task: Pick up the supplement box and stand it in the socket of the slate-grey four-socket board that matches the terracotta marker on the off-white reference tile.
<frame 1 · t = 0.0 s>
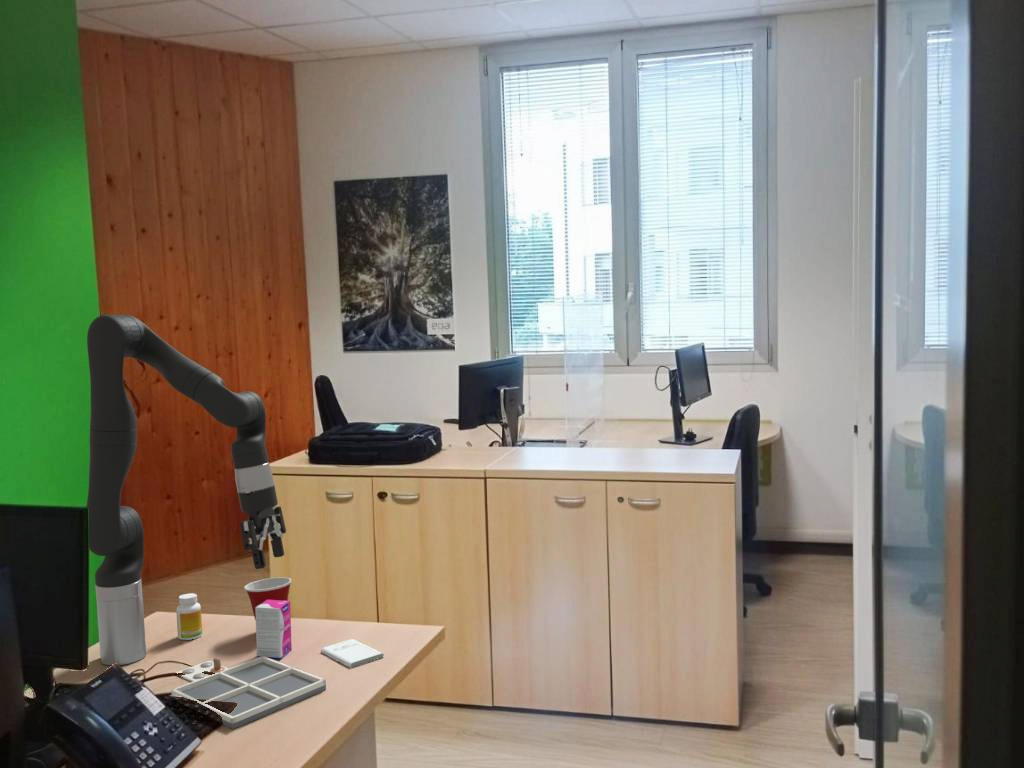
hand: (270, 562, 190), 22 cm above the table, tool pointing down, fingers open, 8 cm apart
reference tile: (203, 672, 189), on the table
supplement bottle: (190, 637, 211), on the table
supplement box: (275, 655, 198), on the table
external hard drive: (352, 658, 197), on the table
plastic cup: (270, 632, 213), on the table
socket board: (249, 694, 178), on the table
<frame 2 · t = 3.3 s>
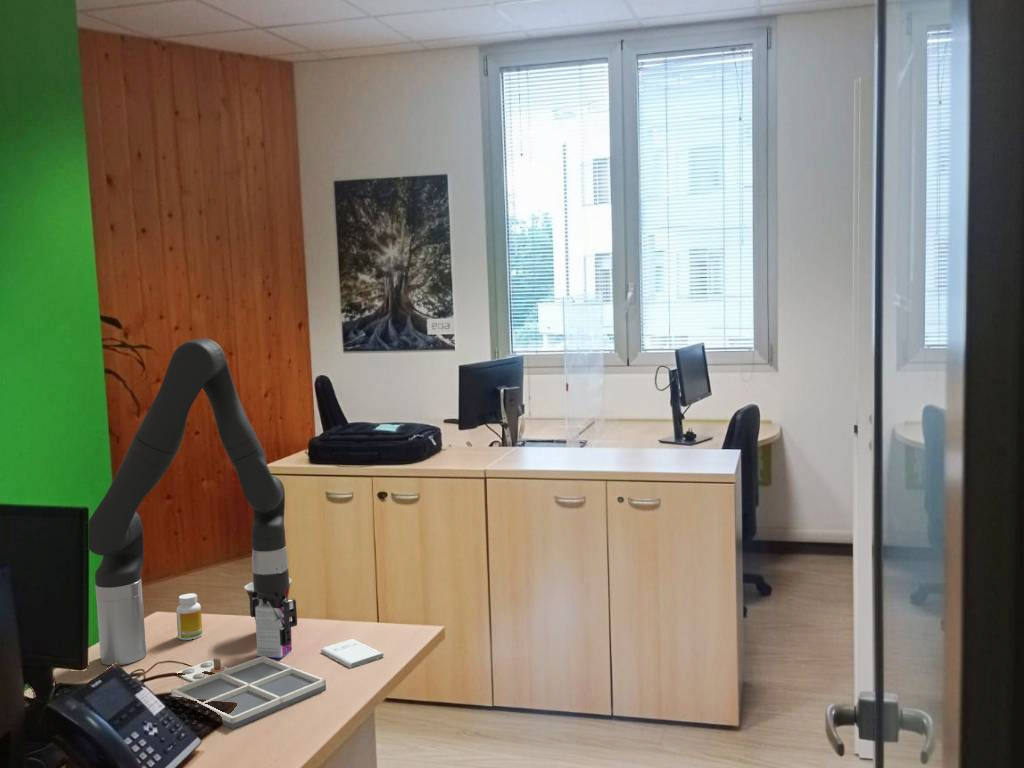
hand: (274, 641, 198), 3 cm above the table, tool pointing down, fingers closed on supplement box, 7 cm apart
supplement box: (275, 655, 198), on the table, touching gripper
everything else where it was.
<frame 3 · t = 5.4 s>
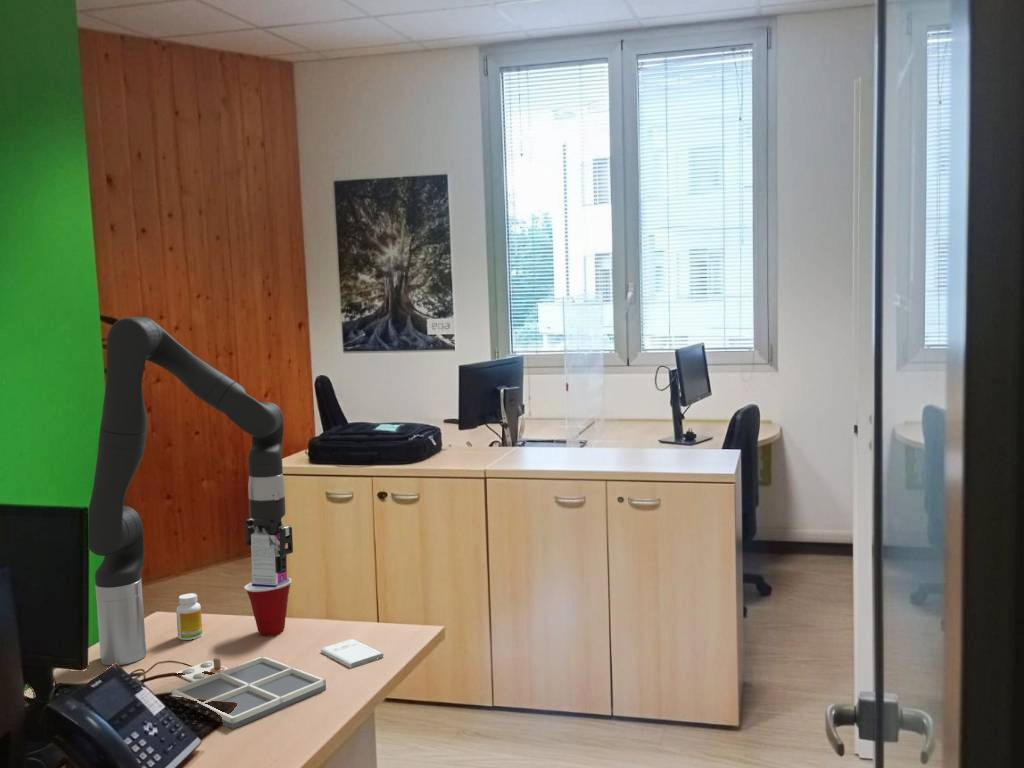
hand: (269, 569, 197), 19 cm above the table, tool pointing down, fingers closed on supplement box, 7 cm apart
supplement box: (270, 584, 197), point 16 cm above the table, touching gripper
everything else where it was.
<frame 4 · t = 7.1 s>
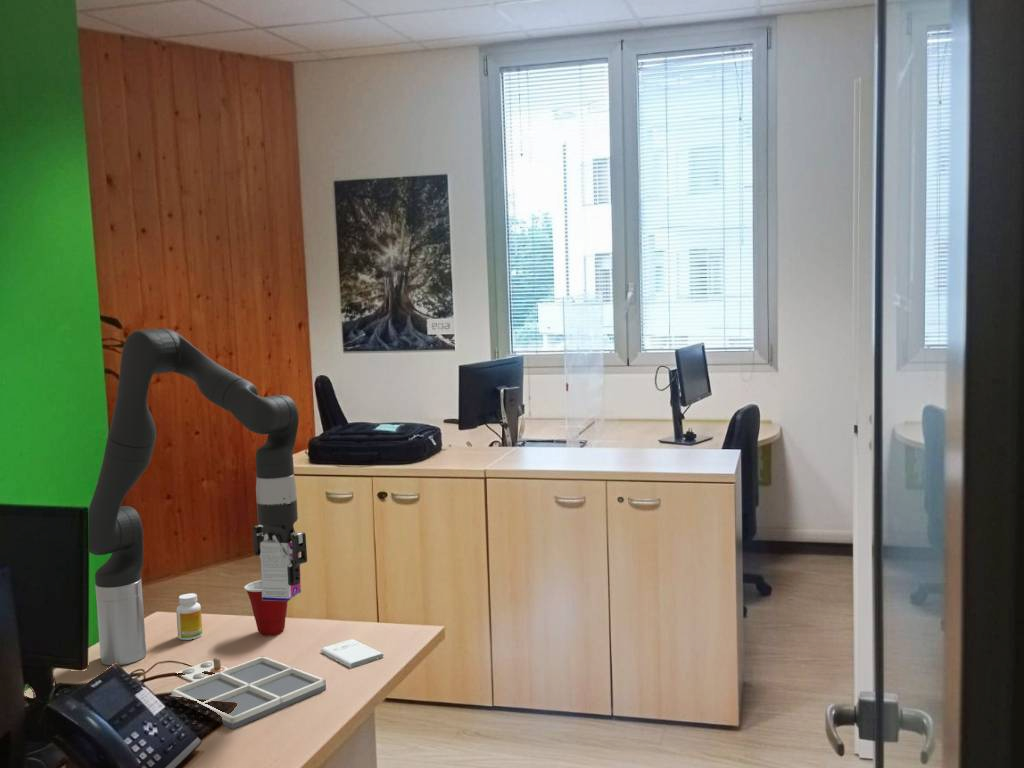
hand: (281, 581, 177), 22 cm above the table, tool pointing down, fingers closed on supplement box, 7 cm apart
supplement box: (282, 597, 177), point 19 cm above the table, touching gripper
everything else where it was.
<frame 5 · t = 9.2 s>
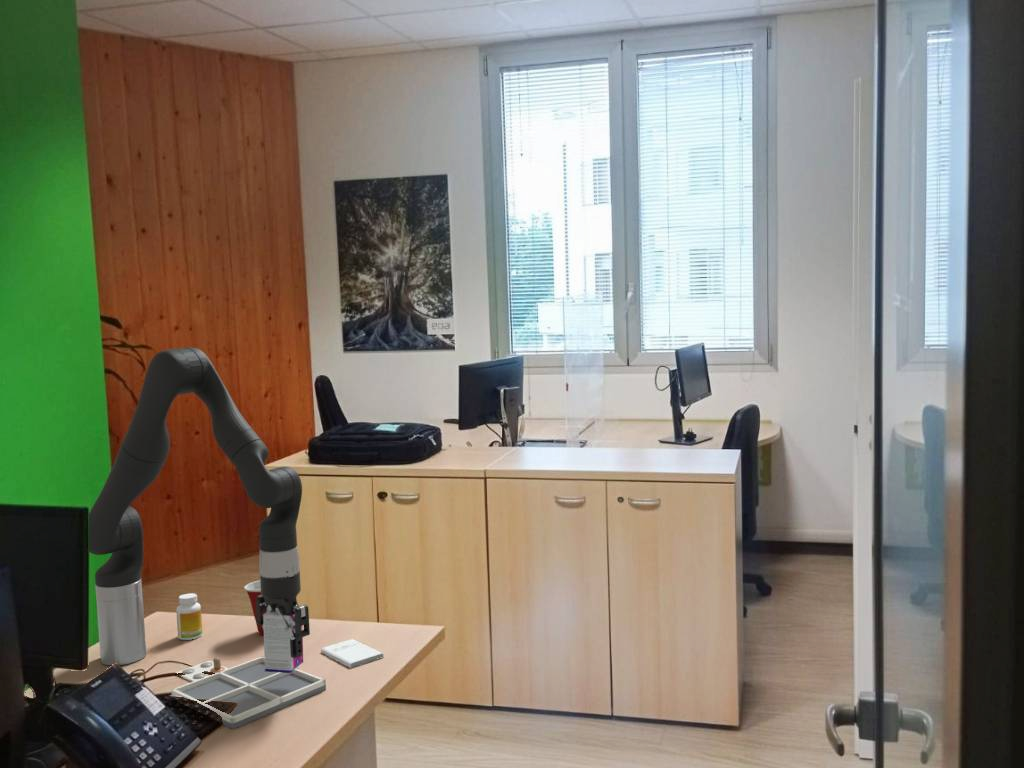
hand: (284, 652, 178), 8 cm above the table, tool pointing down, fingers closed on supplement box, 7 cm apart
supplement box: (284, 667, 178), point 5 cm above the table, touching gripper
everything else where it was.
when the fingers open (4 cm above the table, at t = 10.9 s): supplement box stays where it is, resting on socket board.
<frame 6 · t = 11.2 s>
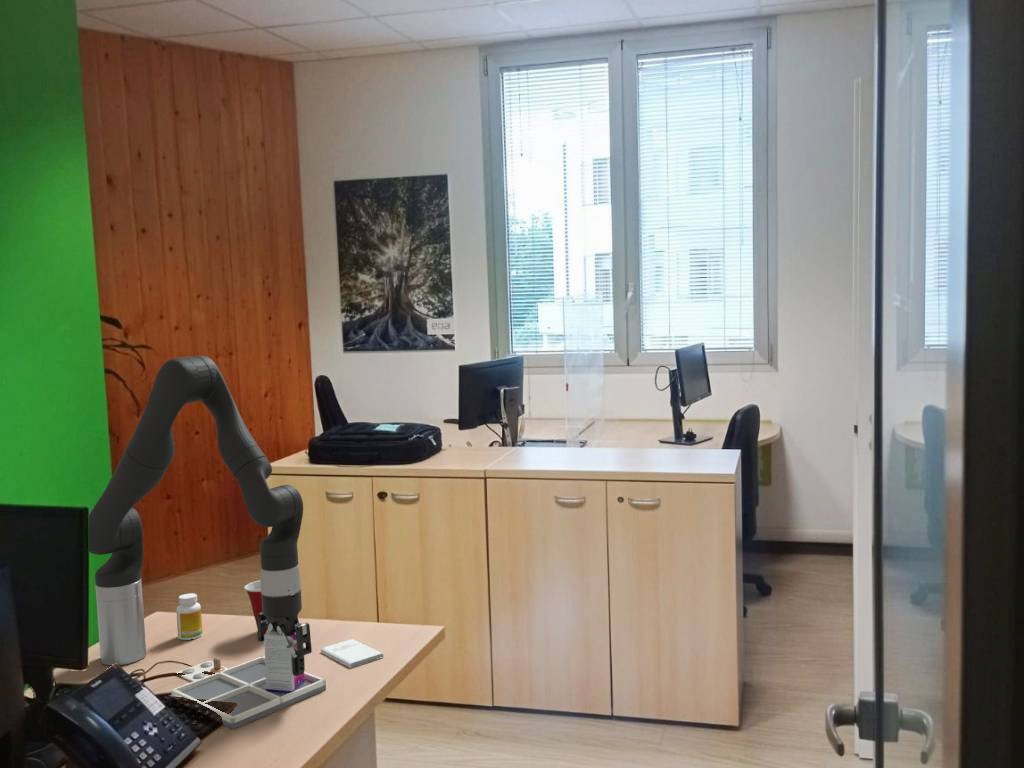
hand: (285, 669, 178), 5 cm above the table, tool pointing down, fingers open, 8 cm apart
supplement box: (286, 688, 178), point 1 cm above the table, touching socket board
everything else where it was.
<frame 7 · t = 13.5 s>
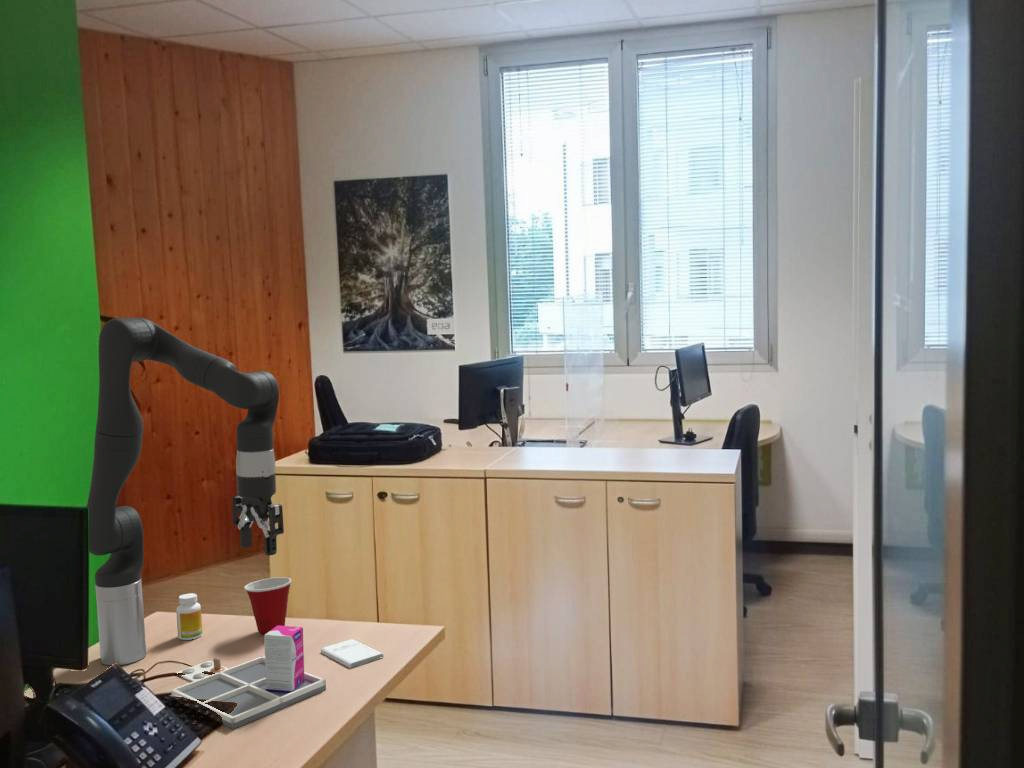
hand: (258, 550, 183), 27 cm above the table, tool pointing down, fingers open, 8 cm apart
nothing on the table moved.
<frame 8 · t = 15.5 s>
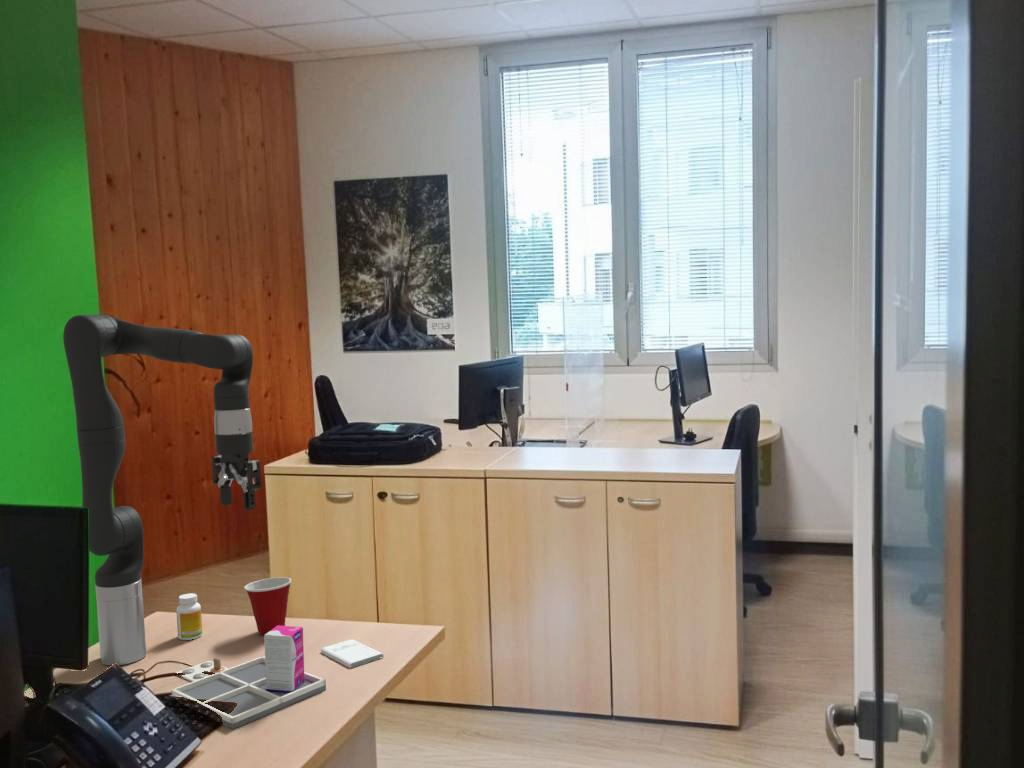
hand: (238, 507, 190), 34 cm above the table, tool pointing down, fingers open, 8 cm apart
nothing on the table moved.
at the end: supplement box 0.1 cm from the target spot on the socket board, point 0.8 cm above the socket board's base; supplement box tilted 0°; the gripper is holding nothing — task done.
